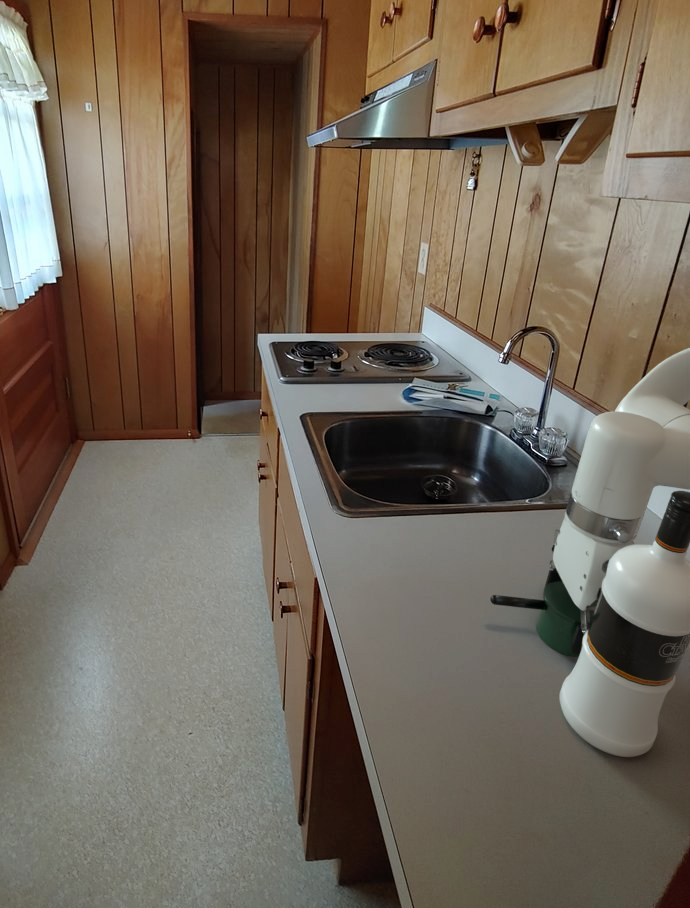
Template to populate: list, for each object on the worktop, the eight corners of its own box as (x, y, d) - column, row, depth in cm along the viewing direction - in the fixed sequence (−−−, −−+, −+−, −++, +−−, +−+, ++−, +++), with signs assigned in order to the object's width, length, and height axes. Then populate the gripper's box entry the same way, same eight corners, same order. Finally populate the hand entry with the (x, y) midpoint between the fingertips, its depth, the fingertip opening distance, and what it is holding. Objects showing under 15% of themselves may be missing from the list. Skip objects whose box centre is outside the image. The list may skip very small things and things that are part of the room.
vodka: (569, 670, 68) (639, 459, 56) (657, 716, 62) (756, 494, 51) (547, 724, 61) (622, 498, 49) (644, 781, 56) (754, 542, 44)
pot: (581, 618, 76) (592, 584, 73) (604, 661, 69) (617, 626, 67) (478, 606, 77) (485, 573, 75) (490, 648, 71) (499, 613, 68)
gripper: (677, 566, 57) (631, 683, 64) (604, 477, 73) (573, 579, 79) (600, 559, 58) (562, 675, 64) (545, 473, 73) (519, 573, 80)
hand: (568, 622), depth 72 cm, fingers open, 9 cm apart
